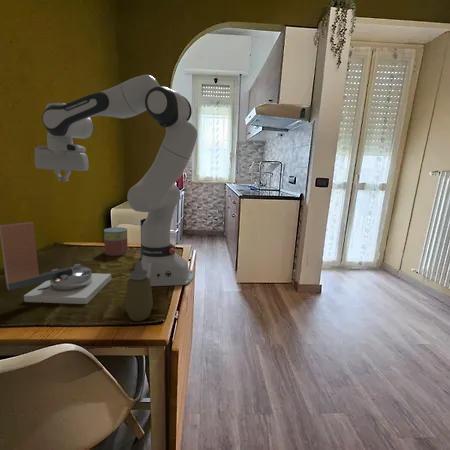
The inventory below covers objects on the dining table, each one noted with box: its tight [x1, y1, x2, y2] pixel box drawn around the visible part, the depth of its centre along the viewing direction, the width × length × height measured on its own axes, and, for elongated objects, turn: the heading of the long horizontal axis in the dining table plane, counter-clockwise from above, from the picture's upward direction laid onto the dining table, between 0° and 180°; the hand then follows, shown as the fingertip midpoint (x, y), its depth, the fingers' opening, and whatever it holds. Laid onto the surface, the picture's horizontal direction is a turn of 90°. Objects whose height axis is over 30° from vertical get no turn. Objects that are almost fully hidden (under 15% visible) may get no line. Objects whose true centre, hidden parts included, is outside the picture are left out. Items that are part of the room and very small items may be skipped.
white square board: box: [23, 272, 112, 305], centre depth 96 cm, size 20×20×2 cm
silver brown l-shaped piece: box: [0, 221, 93, 291], centre depth 89 cm, size 24×13×24 cm, turn 141°
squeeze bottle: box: [125, 259, 154, 322], centre depth 80 cm, size 8×8×18 cm
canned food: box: [103, 226, 129, 256], centre depth 138 cm, size 11×11×12 cm
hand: (63, 181), depth 110 cm, fingers closed
